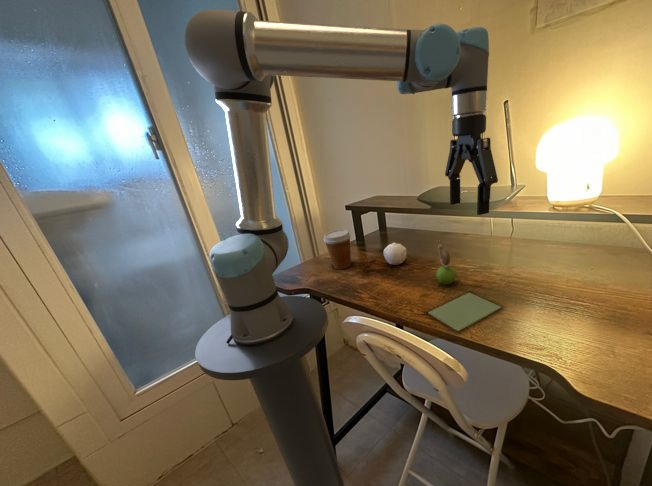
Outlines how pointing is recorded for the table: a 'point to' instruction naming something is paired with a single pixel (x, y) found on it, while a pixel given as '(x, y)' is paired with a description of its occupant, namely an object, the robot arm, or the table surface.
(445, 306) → the edge mat
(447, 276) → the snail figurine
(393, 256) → the garlic bulb
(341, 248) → the disposable coffee cup
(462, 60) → the robot arm
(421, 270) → the table surface
